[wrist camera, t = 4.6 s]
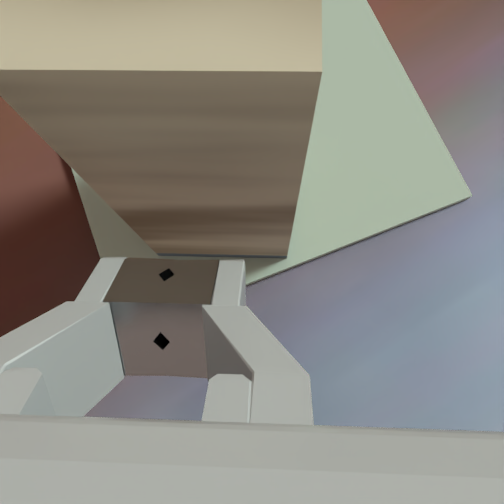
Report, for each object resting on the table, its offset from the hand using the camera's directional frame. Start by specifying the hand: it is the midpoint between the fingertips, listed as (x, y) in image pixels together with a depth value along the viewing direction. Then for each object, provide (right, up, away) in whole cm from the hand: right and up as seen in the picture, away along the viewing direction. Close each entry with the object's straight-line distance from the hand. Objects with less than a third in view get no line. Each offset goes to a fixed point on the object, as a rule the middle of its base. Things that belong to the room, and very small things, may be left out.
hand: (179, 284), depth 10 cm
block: (0, +3, +11) cm, 11 cm away
